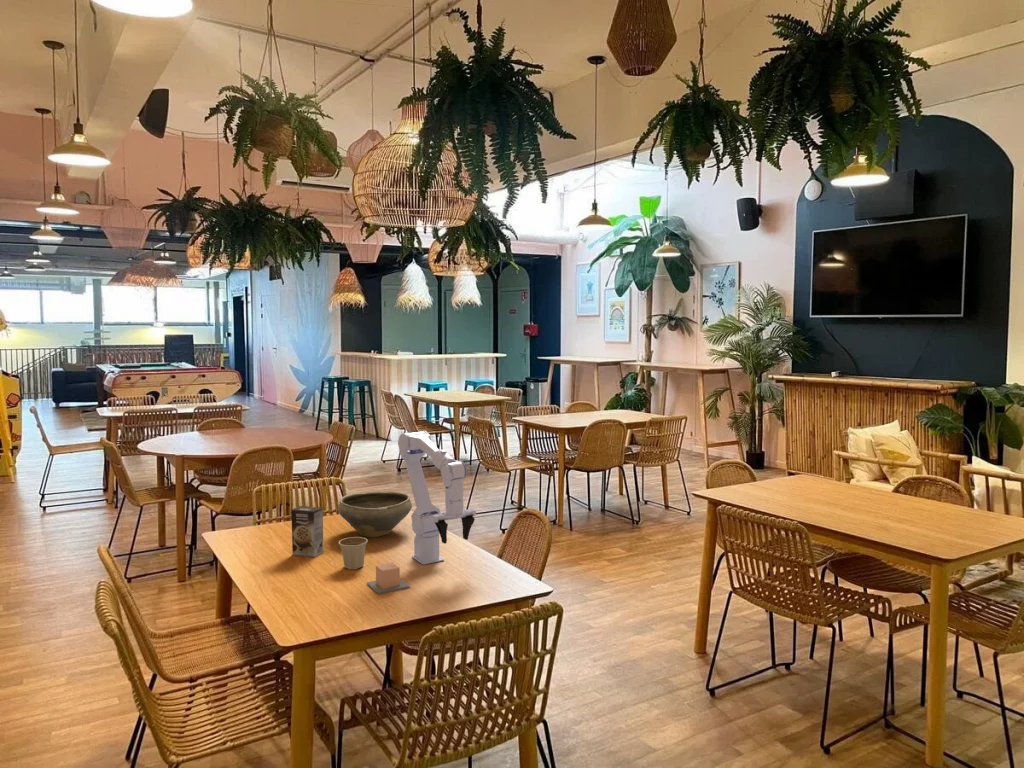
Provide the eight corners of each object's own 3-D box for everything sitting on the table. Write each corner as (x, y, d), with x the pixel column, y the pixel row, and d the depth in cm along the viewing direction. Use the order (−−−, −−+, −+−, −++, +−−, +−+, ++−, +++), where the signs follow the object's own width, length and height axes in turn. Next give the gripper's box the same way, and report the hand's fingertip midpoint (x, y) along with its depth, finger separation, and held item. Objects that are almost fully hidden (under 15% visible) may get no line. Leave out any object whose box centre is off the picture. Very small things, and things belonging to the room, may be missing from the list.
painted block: (376, 583, 225) (375, 565, 224) (392, 579, 228) (392, 562, 227) (382, 588, 220) (382, 570, 220) (399, 585, 223) (399, 567, 223)
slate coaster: (366, 584, 226) (366, 582, 226) (397, 578, 231) (397, 576, 231) (378, 594, 217) (378, 592, 217) (409, 587, 222) (409, 585, 222)
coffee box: (291, 555, 254) (290, 509, 253) (302, 549, 261) (300, 505, 259) (314, 557, 252) (313, 511, 250) (324, 551, 258) (323, 506, 257)
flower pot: (345, 573, 236) (344, 547, 235) (335, 565, 243) (334, 540, 243) (372, 567, 241) (372, 542, 240) (361, 560, 249) (361, 535, 248)
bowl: (325, 533, 281) (324, 497, 281) (386, 520, 300) (385, 486, 299) (363, 548, 261) (362, 509, 260) (426, 533, 279) (425, 496, 278)
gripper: (439, 504, 227) (439, 547, 228) (480, 498, 234) (480, 540, 235) (429, 500, 233) (430, 542, 234) (469, 494, 240) (470, 534, 241)
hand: (454, 540), depth 235 cm, fingers open, 7 cm apart
